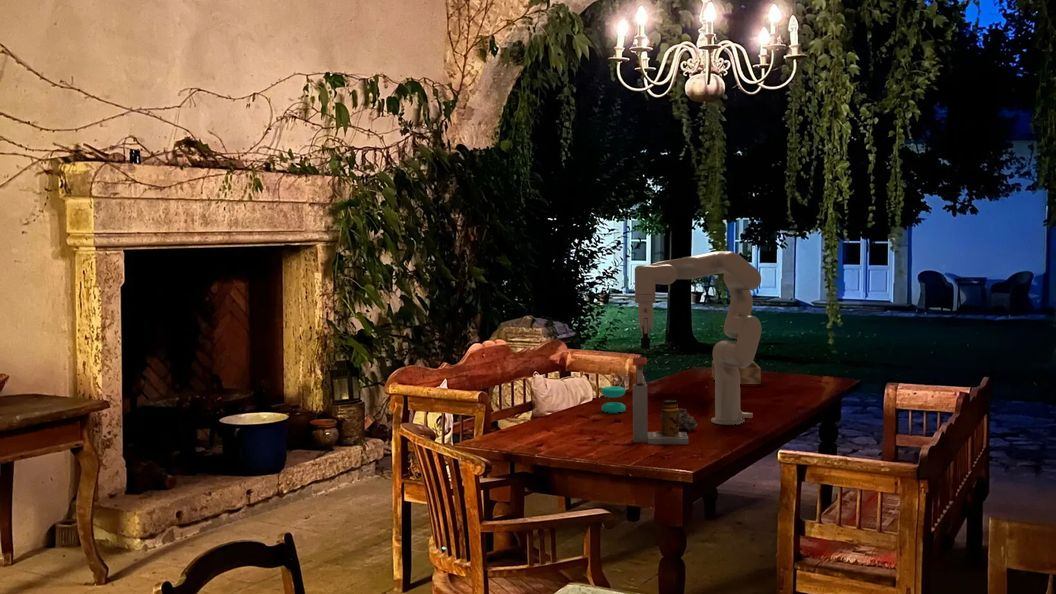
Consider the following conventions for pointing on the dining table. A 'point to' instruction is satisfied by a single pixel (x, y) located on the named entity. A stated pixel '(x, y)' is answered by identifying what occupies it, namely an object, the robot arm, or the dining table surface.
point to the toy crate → (746, 374)
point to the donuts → (613, 406)
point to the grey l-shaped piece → (642, 421)
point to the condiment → (669, 419)
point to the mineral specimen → (685, 420)
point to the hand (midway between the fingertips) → (645, 348)
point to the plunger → (639, 368)
